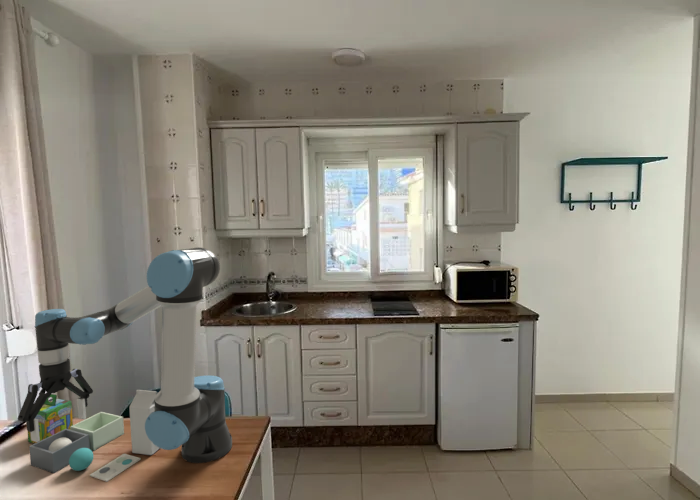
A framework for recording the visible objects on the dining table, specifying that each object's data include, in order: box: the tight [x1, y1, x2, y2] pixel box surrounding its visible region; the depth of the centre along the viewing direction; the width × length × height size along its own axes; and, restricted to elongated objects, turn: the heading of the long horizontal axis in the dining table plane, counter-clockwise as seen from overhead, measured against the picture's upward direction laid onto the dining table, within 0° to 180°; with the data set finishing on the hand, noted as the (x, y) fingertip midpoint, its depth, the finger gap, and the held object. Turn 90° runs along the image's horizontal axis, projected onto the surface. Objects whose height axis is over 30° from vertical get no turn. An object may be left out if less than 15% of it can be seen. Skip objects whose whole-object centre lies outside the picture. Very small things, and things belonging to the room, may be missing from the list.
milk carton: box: [129, 389, 161, 456], centre depth 127 cm, size 7×7×19 cm
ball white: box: [48, 437, 72, 452], centre depth 122 cm, size 6×6×6 cm
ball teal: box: [68, 448, 94, 472], centre depth 117 cm, size 6×6×6 cm
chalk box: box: [27, 393, 74, 444], centre depth 134 cm, size 9×9×15 cm
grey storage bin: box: [28, 429, 90, 474], centre depth 122 cm, size 11×11×6 cm
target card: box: [89, 453, 141, 483], centre depth 118 cm, size 7×11×1 cm, turn 158°
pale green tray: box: [70, 411, 125, 452], centre depth 133 cm, size 11×11×6 cm
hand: (60, 428), depth 121 cm, fingers open, 13 cm apart
